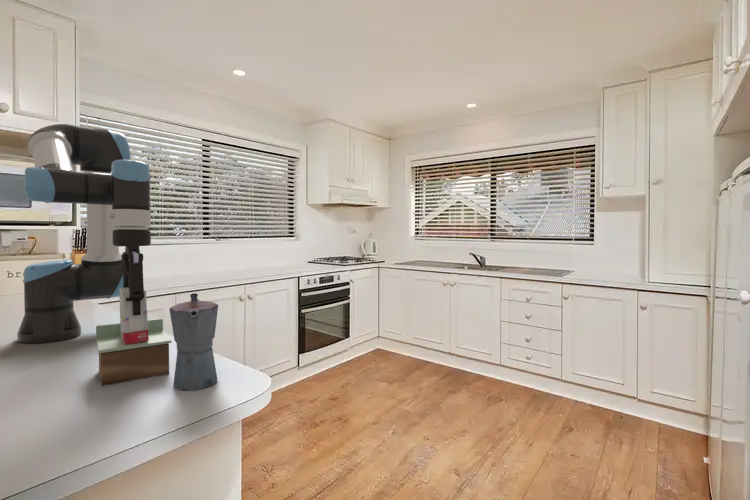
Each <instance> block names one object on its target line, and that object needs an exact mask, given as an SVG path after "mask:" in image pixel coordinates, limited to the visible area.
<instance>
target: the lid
mask: <svg viewBox="0 0 750 500" xmlns="http://www.w3.org/2000/svg"><path fill="white" fill-rule="evenodd" d="M148 337H149V341H143V342H138V343H132V344H125V343H124V341H123V340H122V338H121V326H120V322H117V323H108V324H107V323H106V324H97V325H96V326H95V341H96V346H97V351H98V354H99V353H105V352H112V351H119V350H126V349H133V348H140V347H147V346H154V345H161V344H172V339H171V338H170V337H169V335H167V334H166V332H165V331H164V318H153V319H148Z"/></svg>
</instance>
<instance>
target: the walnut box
mask: <svg viewBox="0 0 750 500" xmlns="http://www.w3.org/2000/svg"><path fill="white" fill-rule="evenodd" d="M98 373H99V379H101V380H100V385H101V387H105V386H110V385H116V384H121V383H126V382H130V381H131V382H133V381H137V380H143V379H148V378H149V379H150V378H154V377H159V376H164V375H169V374H170V343H168V344H161V345H154V346H147V347H140V348H133V349H126V350H119V351H112V352H105V353H99V352H98Z"/></svg>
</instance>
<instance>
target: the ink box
mask: <svg viewBox="0 0 750 500" xmlns="http://www.w3.org/2000/svg"><path fill="white" fill-rule="evenodd" d="M119 291H120V297H119V323H120V326H121V338H122V340H123V341H124V343H125V344H132V343H138V342H143V341H149V337H148V320H149V319H148V307H147V306H148V304H147V290H146V289H144V294H145V296H144V298H143V328H144V329H140V330H131V331H129V304H128V301H126V298H128V297H129V288H119Z"/></svg>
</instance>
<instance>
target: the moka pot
mask: <svg viewBox="0 0 750 500" xmlns="http://www.w3.org/2000/svg"><path fill="white" fill-rule="evenodd" d="M198 295H199V294H198V293H195V292H194V293H190V294H189V297H190V300H189V301H185V302H180V303H177V304H174V305H173V306H171V307H170V308H169V314H170V321H171V326H172V333H173V339H174V342H175V344H176V350H177V351H176V360H175V369H174V375H173V376H174V377H173V387H174V388H175V389H177V390H180V391H185V392H186V391H189V392H190V391H198V390H199V391H200V390H202V389H206V388H208V387H211V386H212V385H214V384H215V383H216V382H217V381H218V374H217V368H216V362H215V357H214V351H213V343H214V341H213V340H214V338H215V337H216V336H215V335H216V327H217V326H216V325H217V318H218V310H219V305H218V303H216V302H215V303H214V302H213V301H207V300H199V299H198Z"/></svg>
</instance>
